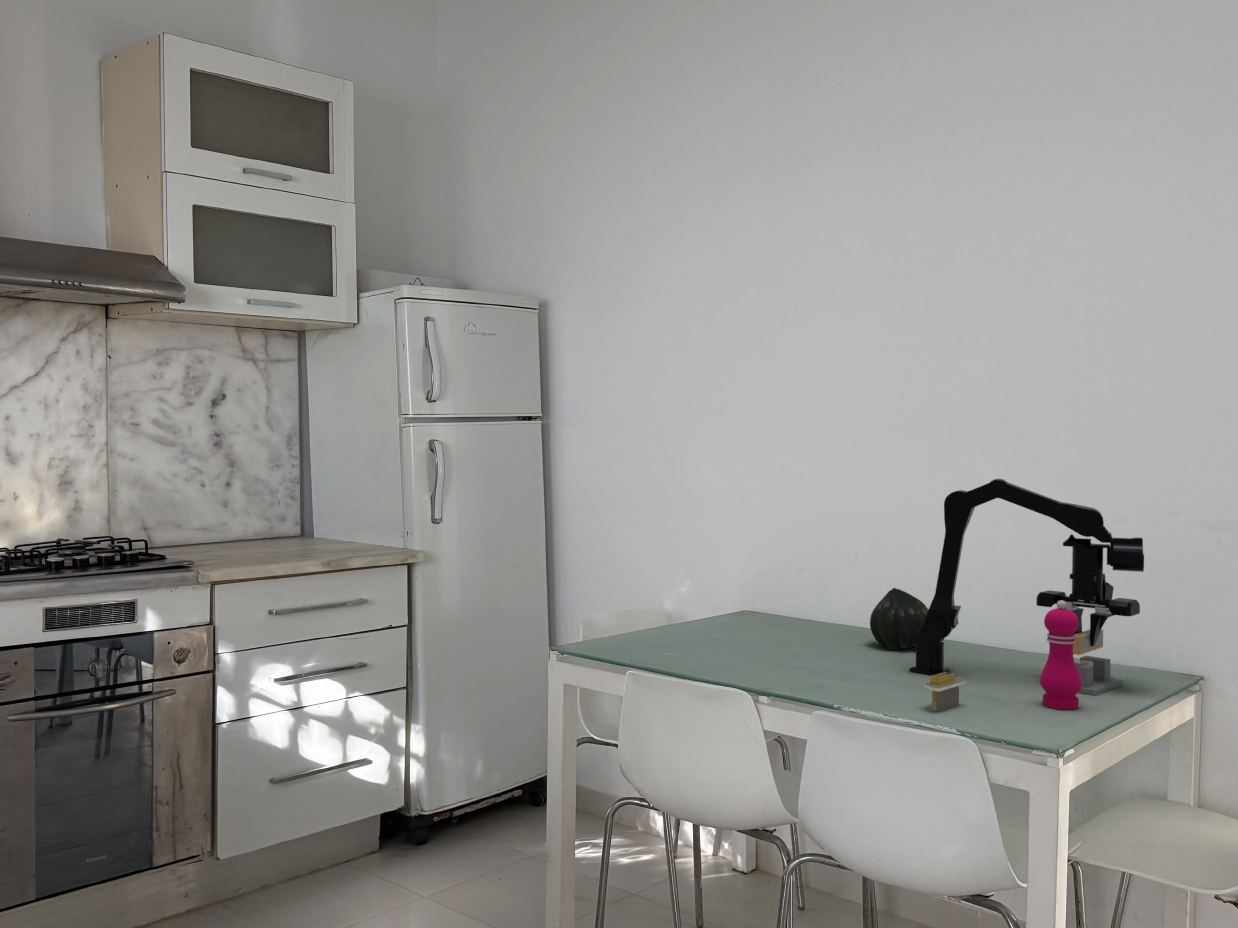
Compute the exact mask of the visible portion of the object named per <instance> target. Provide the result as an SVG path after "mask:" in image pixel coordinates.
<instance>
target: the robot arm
mask: <svg viewBox="0 0 1238 928" xmlns="http://www.w3.org/2000/svg"><path fill="white" fill-rule="evenodd" d="M995 499H999V500H1004V501H1006V502H1008V503H1010V504H1011V503H1012V504H1014V505H1017V506H1019V507H1022V508H1025V509H1027V510H1029V511H1032V512H1035V513H1037V514H1040V515H1043V516H1046V517H1049V518H1050V519H1053V520H1055V521H1057V522H1058V523H1059V524H1062V525H1063V526H1065V527H1066V528H1068V529H1070V530H1072V531H1073V532H1074V533H1076V534H1078V535H1080V536H1082V537H1086V538H1082V537H1081V538H1077V537H1076V536H1074V534H1072V533H1071V534H1070V535H1069V536H1068V538H1067V539H1065V540H1064V541H1063V542H1062V546H1063V547H1072V550H1071V551H1072V552H1071V553H1072V554H1071V555H1072V557H1071V559H1072V561H1071V563H1072V564H1071V565H1072V566H1071V573H1069V580H1071V593H1069V595H1066V592H1065V591H1058V590H1057V591H1056V590H1049V589H1048V590H1044V591H1040V592H1038V594H1037V595H1036V598H1035V599H1036V604H1035V605H1036V606H1037V607H1044V608H1052V607H1053V606H1054V605H1057V602H1058V601H1060V600H1063V601H1065V602H1066V604H1067V607H1066V608H1065V609H1068V610H1070V611H1072V612H1074V613H1075V614H1076V616H1077V617H1078V621H1079V627H1078V629H1077V630H1076V631H1075V633H1074V634H1077V633H1080V632H1083V624H1082V622H1083V621H1082V620H1083V619H1082V617H1083V614H1084V613H1083V612H1084V608H1088V609H1089V608H1090V609H1094V611H1095V612H1093V613H1090V615H1089V617H1090V618H1089V620H1090V621H1089V627H1090V628H1089V630H1090V643H1091V646H1095V644H1096V641H1097V639H1098V636H1099V634H1100V631H1101V630H1103V629H1102V628H1103V626H1104V625H1105V623H1106V621H1107V619H1108V618H1110V617H1113V616H1118V617H1119V616H1121V617H1133V616H1136V615H1139V614H1141V613H1140V612H1141V604H1140V603H1139V602H1138V600H1137V599H1134V598H1133V599H1132V598H1125V597H1124V598H1123V597H1122V598H1121V597H1117V598H1114V599H1113V594H1114V588H1115V587H1114V586H1113V585H1111V584H1110V583H1109V582H1106V581H1107V580H1106V573H1104V549H1106V566H1109V567H1112V571H1120V572H1139V573H1144V569H1145V554H1144V541H1143V539H1144V538H1142V537H1136V536H1135V537H1113V536H1112V532H1109V531H1108V529H1107V528H1106V527H1105V525H1104V523H1105V522H1104V517H1103V515H1102V513H1101V512H1100V511H1099V510H1098V509H1096V508H1094V507H1091V506H1086V505H1081V504H1075V503H1070V502H1065V501H1064V502H1063V501H1061V500H1057V499H1054V498H1051V497H1048V496H1046V495H1043V494H1040V493H1038V492H1035V491H1032V490H1030V489H1026V488H1025V487H1021V486H1018V485H1016V484H1013V483H1010V482H1008V481H1006V479H1003V478H995V479H993V480H990V481H989V482H988V483H986V484H983V485H981V486H978V487H976V488H973V489H971V490H968V491H967V490H963V489H959V490H955V491H952V492H950V493H949V494H948V495H947V496H946V497H945V499H944V500H943V513H944V514H943V515H944V516H943V517H944V529H945V531H944V532H945V533H944V539H943V545H942V551H941V558H940V563H939V569H938V574H937V582H936V585H935V587H936V588H935V591H934V596H933V598H932V601H931V602H930V605H929V608H928V609H929V610H928V613H927V616H926V618H925V621H924V626H923V627H922V628H921V629H919V630H918V632H917V633H916V634H915V635H914V636H913V638H914V641H915V644H916V649H915V666H913V667H909V668H908V669H909V672H916V673H920V674H926V675H931V676H933V675H937V674H941V673H944V672H947V673H949V672H950V670H951V668H948V667H944V665H945V664H944V663H945V662H944V661H945V659H944V658H945V657H944V656H945V654H944V653H945V649H944V648H945V647H944V645H945V642H944V640H945V638H946V637H948V636H949V635H950V634H951V633H952V632H953V630H954V629H956V628H957V626H958V625H959V613H960V611H961V608H962V605H955V604H956V603H955V591H956V585H957V578H958V574H959V569H960V568H959V567H960V561H961V556H962V550H963V545H964V537H965V534H966V532H967V528H968V526H969V524H970V523H971V522H970V521H971V520H972V519H971V518H972V516H973V514H974V511H975V508H976V507H978V506H980V505H983V504H985V503H989V502H991V501H993V500H995ZM1090 537H1091V538H1090ZM1092 537H1093V539H1096V540H1097V541H1099V542H1100V543H1092Z"/></svg>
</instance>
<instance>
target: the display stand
mask: <svg viewBox="0 0 1238 928" xmlns="http://www.w3.org/2000/svg"><path fill="white" fill-rule="evenodd" d="M1075 665H1076V667H1077V669H1078V672H1079V674H1080V677H1081V683H1082V687H1081V690H1080V691H1079V692H1078V693H1077V694H1083V693H1085V694H1084V695H1089V694H1091V695H1090V696H1095V695H1096V696H1098V695H1100V693H1101V694H1103V693H1106V692H1108V691H1110V690H1113V689H1114V688H1117V687H1119V686H1121V685H1123V679H1121V678H1115V677H1111V659H1110V658H1104V657H1096V656H1092V655H1091V656H1090V655H1084V656H1081V657H1079V663H1078V662H1075ZM1107 690H1108V691H1107Z"/></svg>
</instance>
